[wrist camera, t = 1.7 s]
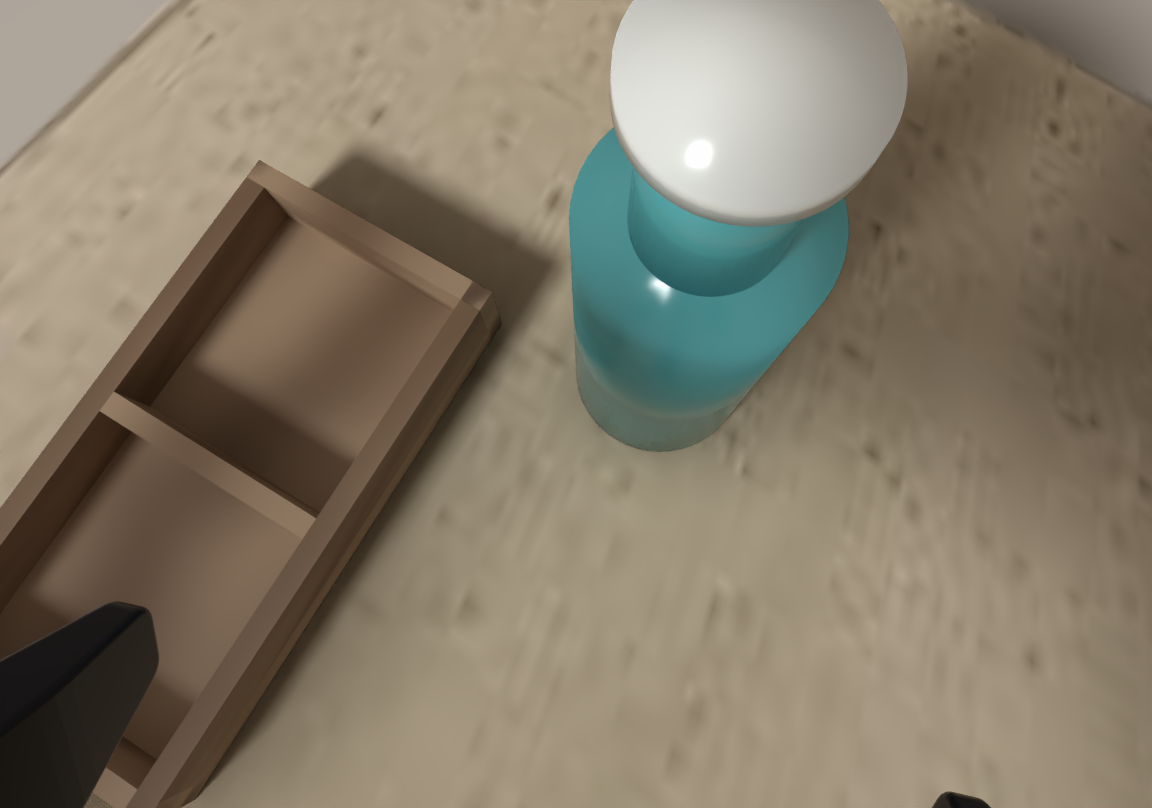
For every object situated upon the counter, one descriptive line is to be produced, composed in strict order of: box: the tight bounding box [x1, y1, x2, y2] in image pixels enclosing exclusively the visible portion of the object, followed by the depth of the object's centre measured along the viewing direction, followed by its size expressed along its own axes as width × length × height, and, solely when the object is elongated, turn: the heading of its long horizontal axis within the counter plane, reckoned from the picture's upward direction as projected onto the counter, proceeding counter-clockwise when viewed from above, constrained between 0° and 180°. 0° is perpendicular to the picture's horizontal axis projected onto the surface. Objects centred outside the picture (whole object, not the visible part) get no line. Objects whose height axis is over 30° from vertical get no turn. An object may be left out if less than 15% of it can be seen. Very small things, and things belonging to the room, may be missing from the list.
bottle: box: [569, 0, 908, 452], centre depth 17 cm, size 5×5×14 cm
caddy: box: [0, 160, 502, 808], centre depth 22 cm, size 8×15×3 cm, turn 149°
